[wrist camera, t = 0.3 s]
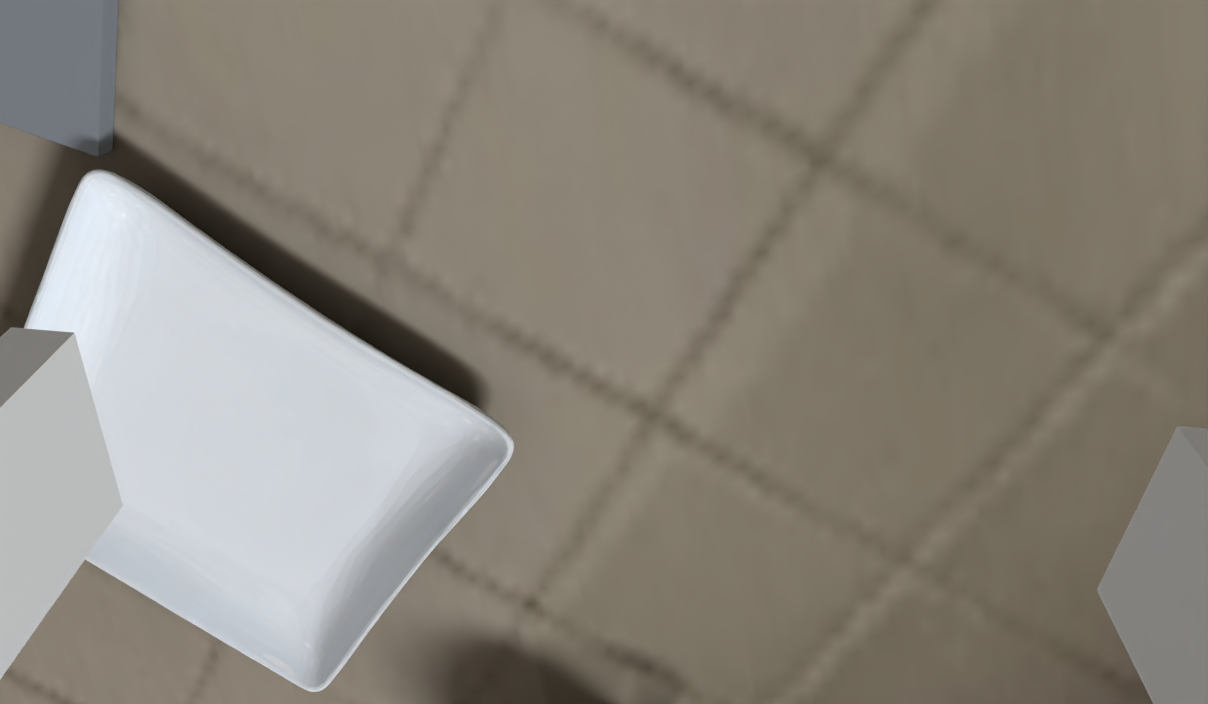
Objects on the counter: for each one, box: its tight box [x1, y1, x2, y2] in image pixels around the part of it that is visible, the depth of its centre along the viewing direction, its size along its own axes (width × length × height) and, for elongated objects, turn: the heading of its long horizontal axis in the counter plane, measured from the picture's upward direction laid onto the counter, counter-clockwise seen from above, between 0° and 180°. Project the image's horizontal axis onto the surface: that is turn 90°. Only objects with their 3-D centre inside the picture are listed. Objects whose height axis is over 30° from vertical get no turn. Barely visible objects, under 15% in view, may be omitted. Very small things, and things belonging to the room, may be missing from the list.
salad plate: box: [24, 169, 514, 692], centre depth 46 cm, size 21×21×3 cm
